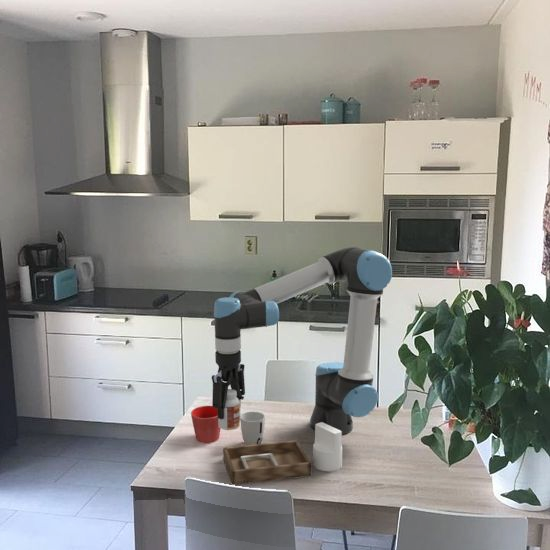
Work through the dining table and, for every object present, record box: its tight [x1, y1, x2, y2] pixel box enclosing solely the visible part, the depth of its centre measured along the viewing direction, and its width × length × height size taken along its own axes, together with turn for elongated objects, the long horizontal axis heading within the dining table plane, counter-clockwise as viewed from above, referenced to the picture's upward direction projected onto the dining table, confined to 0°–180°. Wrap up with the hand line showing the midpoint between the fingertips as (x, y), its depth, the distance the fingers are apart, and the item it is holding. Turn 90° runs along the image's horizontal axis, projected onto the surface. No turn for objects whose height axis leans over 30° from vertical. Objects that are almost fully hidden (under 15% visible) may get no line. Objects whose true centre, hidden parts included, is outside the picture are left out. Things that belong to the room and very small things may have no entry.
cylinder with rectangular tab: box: [312, 422, 343, 472], centre depth 190 cm, size 9×9×12 cm
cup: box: [240, 411, 266, 445], centre depth 203 cm, size 8×8×10 cm
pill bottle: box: [221, 388, 241, 431], centre depth 185 cm, size 6×6×11 cm
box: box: [222, 440, 313, 485], centre depth 188 cm, size 24×16×4 cm, turn 103°
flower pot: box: [190, 405, 222, 444], centre depth 207 cm, size 11×11×10 cm
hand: (229, 423), depth 186 cm, fingers closed on pill bottle, 6 cm apart
